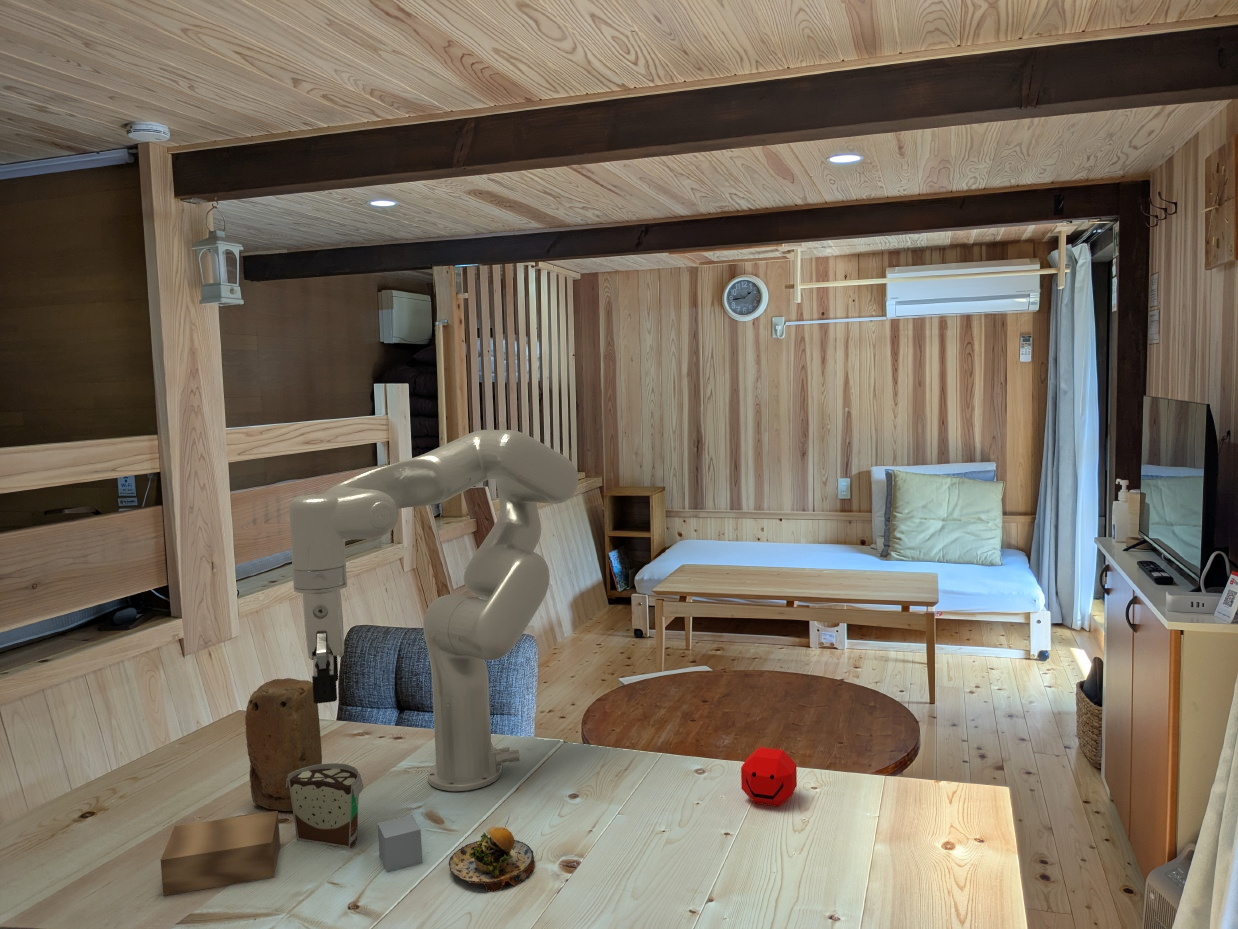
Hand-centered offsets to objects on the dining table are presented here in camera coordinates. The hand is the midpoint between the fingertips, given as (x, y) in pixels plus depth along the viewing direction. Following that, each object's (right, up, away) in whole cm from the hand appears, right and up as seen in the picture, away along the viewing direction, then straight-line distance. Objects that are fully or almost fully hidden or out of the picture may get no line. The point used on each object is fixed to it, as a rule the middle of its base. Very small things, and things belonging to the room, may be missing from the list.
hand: (326, 691), depth 136 cm
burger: (+26, -23, -10) cm, 36 cm away
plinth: (-12, -23, -7) cm, 27 cm away
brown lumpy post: (-11, -22, +13) cm, 28 cm away
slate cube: (+13, -23, -6) cm, 26 cm away
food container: (+1, -22, +2) cm, 22 cm away
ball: (+68, -20, +9) cm, 71 cm away
